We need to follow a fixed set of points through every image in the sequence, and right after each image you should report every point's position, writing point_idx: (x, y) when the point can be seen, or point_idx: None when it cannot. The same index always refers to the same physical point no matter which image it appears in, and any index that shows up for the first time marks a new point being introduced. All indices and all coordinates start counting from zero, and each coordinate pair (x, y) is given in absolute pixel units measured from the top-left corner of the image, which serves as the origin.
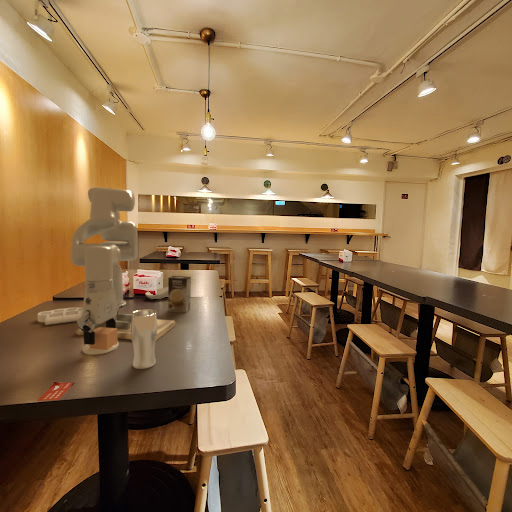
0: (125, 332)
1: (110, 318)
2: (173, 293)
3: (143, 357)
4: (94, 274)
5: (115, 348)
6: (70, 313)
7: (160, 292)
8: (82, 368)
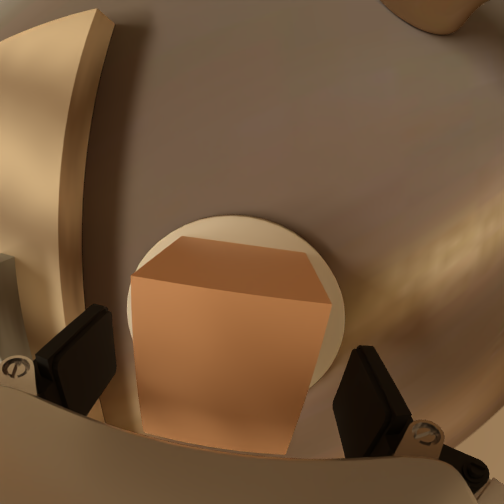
0: (47, 250)
1: (136, 436)
2: None
3: None
4: None
5: (247, 216)
6: None
7: None
8: (475, 274)
